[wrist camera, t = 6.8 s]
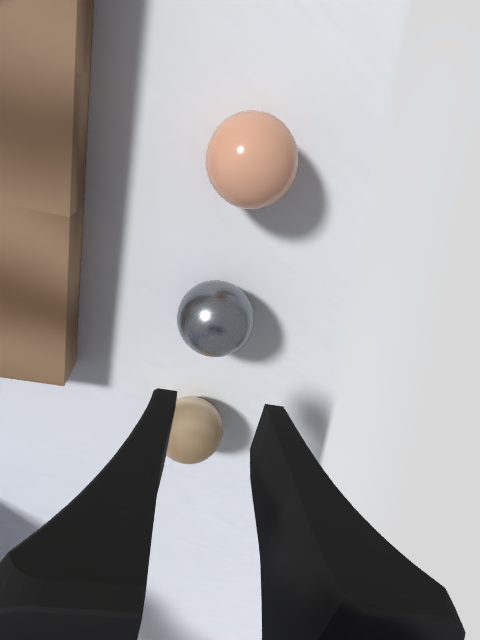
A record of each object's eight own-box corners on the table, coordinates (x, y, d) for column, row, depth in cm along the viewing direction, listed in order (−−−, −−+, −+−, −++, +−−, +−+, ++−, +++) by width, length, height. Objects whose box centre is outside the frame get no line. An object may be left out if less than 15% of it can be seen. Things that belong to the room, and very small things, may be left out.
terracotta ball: (278, 204, 19) (289, 229, 16) (199, 187, 18) (196, 209, 15) (301, 119, 17) (319, 128, 14) (215, 97, 17) (215, 102, 13)
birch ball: (215, 433, 25) (215, 482, 22) (156, 425, 25) (148, 474, 22) (228, 388, 24) (229, 434, 21) (165, 379, 23) (157, 424, 20)
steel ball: (242, 336, 22) (246, 377, 19) (175, 324, 22) (168, 365, 18) (258, 275, 20) (266, 310, 17) (186, 261, 20) (181, 295, 17)
